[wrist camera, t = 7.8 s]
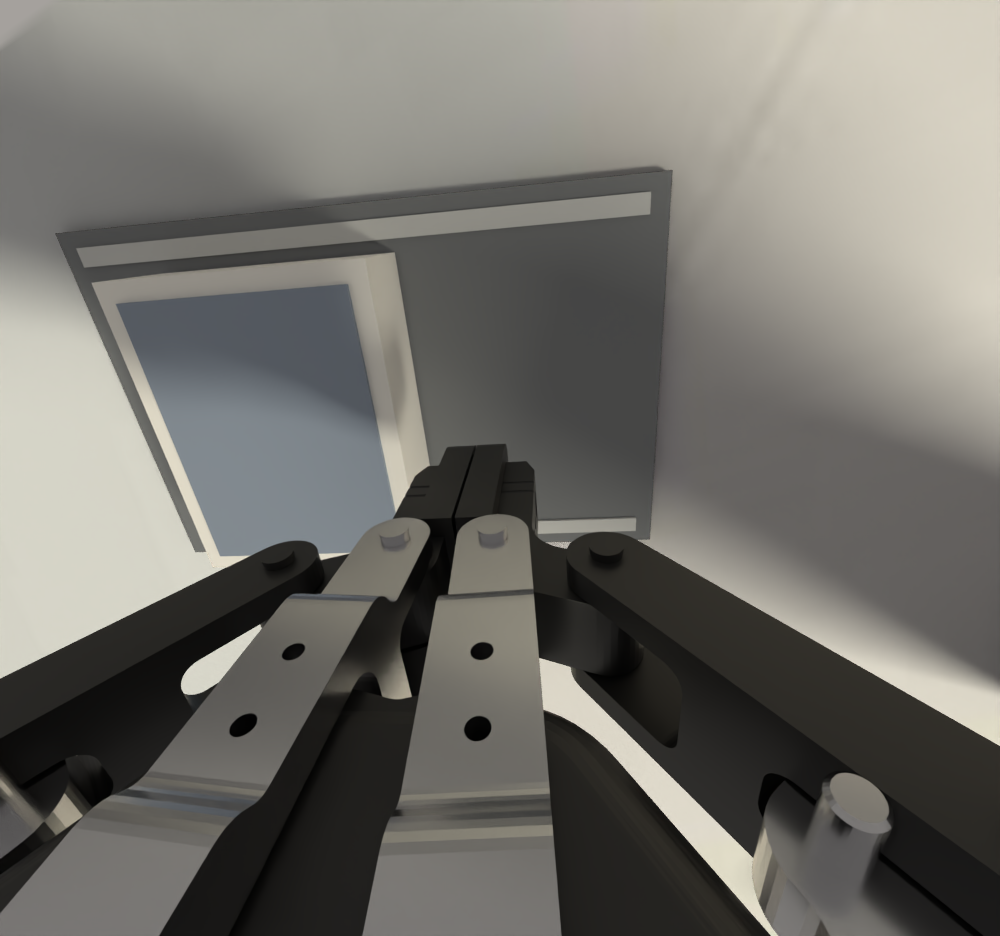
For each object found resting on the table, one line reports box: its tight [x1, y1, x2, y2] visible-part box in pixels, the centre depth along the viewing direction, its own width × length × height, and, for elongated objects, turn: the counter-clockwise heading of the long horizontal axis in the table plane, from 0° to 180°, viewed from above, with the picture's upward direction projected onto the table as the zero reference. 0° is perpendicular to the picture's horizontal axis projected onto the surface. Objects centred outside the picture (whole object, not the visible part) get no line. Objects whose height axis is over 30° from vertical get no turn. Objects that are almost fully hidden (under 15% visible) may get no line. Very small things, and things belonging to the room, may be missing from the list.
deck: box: [92, 252, 430, 568], centre depth 17 cm, size 3×10×8 cm
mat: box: [55, 170, 672, 552], centre depth 18 cm, size 20×13×1 cm, turn 95°
